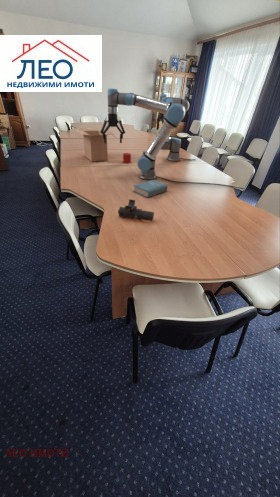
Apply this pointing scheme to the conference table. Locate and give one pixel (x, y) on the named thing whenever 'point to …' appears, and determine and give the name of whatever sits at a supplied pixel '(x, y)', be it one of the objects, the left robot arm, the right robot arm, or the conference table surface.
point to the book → (150, 188)
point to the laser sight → (135, 212)
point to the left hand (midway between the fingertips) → (113, 143)
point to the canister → (126, 157)
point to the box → (94, 144)
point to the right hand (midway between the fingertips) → (160, 130)
